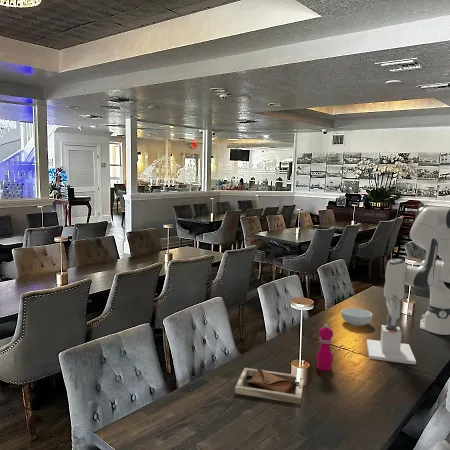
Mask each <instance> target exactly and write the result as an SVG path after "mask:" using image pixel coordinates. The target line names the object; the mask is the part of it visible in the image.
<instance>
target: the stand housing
mask: <svg viewBox="0 0 450 450" xmlns="http://www.w3.org/2000/svg"><path fill="white" fill-rule="evenodd" d="M386 326H387V324H386V325H384V324H381V327H380V328H381V329H380V340H377V339H376V340H375V339H368V338H367V339H366V340H365V341H366V347H367V354H368V358H369V359H370V360H379V361H383V362H384V361H386V362H391V363H392V362H393V363H401V364H407V365H409V364H410V365H417V361H416V358H415V356H414V353H413V351H412V349H411V348H412V347H411V346H410V344H408V343H402V334H403V333H402V331H401V328H400V326H397V329H396V331H391V330H386Z"/></svg>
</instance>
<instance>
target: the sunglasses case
mask: <svg viewBox="0 0 450 450" xmlns="http://www.w3.org/2000/svg"><path fill="white" fill-rule="evenodd" d="M262 370H263V369H260V368H257V371H256V373H255V374H254V376H251V378H250V379H249V381H247V384H250V385H253V386H256V387H257V388H259V389H262V390H269V391H275V392H282V393H288V394H294V392H295V391H296V385H295V382H291V381H287V380H285V379H282V378H280V377H278V376H275V375H273V374H270V373H267V372H265V371H266V370H264V371H262Z"/></svg>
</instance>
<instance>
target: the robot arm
mask: <svg viewBox="0 0 450 450" xmlns="http://www.w3.org/2000/svg"><path fill="white" fill-rule="evenodd" d="M414 217H415V220H414V221H413V223H412V226H411V229H410V231H409V238H410V240H412V242H413V243H414V244H415V245H416V246H418V247H420V248H421V249H423V250H425V255H424V260H422V261H421V262H420V263H419V266H415V265H411V264H407V263H406V262H405V260H404V259H402V258H391V259H388V260H387V264H386V267H385V272H384V273H385V275H384V278H385V282H384V287H383V296H384V297H385V304H386V308H387V311H388V315H390V316H391V325H395V323H396V319H397V320H398V319H400V315H401V314H400V313H401V303H400V302H401V300H403V299H404V298H405V285H406V286H409V287H414V288H416V289H420V290H423V291H425V290H426V289H429V303H428V305H427V310H426V312H425V313H424V314H421V319H420V323H419V325H420V326H419V329H420V330H421V329H422V330H424V331H427V332H429V333H433V334H435V335H436V334H437V335H442V336H443V335H444V336H445V335H447V336H449V335H450V288H448V287H447V286H446V285H445V283H449V284H450V207H448V206H447V207H446V206H427V205H426V206H425V205H424V206H420V207H419V208H418V209H417V210H416V211H415V216H414ZM438 256H439V257H440V259H441V260H439V259H437V257H438Z"/></svg>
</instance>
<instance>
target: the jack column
mask: <svg viewBox="0 0 450 450" xmlns="http://www.w3.org/2000/svg"><path fill="white" fill-rule="evenodd" d="M386 325H387V326H386V330H391V331H396V329H397V327H398V319H396V323H395V325H391V316H390V315H389V314H387V315H386Z"/></svg>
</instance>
